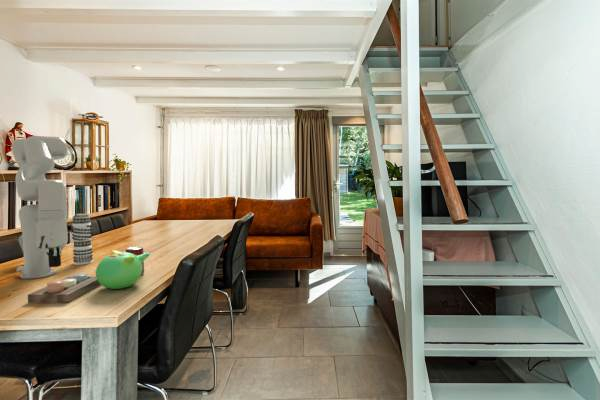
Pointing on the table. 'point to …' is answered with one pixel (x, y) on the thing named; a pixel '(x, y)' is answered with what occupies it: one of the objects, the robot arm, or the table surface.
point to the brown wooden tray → (64, 292)
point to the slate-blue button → (80, 277)
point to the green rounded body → (120, 269)
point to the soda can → (136, 252)
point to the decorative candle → (82, 239)
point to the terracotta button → (55, 287)
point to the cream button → (69, 282)
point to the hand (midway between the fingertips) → (55, 266)
